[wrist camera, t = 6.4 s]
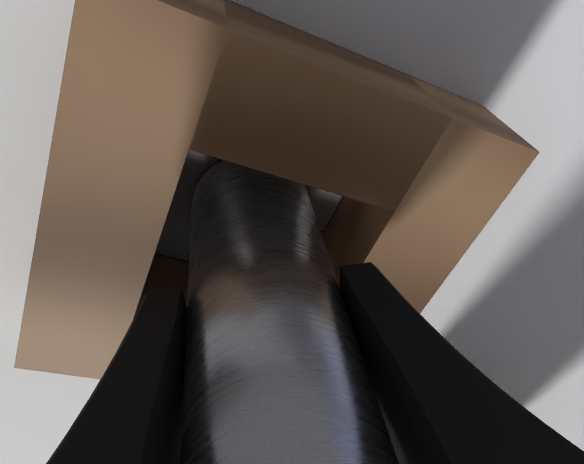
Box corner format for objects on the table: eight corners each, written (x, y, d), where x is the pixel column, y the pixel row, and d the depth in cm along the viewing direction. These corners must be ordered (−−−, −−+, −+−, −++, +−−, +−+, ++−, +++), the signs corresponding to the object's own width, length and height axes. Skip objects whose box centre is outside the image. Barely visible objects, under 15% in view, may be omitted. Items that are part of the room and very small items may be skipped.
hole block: (107, -50, 9) (80, -31, 7) (483, 106, 12) (539, 152, 10) (42, 295, 14) (14, 367, 12) (329, 347, 17) (347, 411, 15)
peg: (178, 164, 12) (118, 784, 4) (301, 144, 12) (510, 692, 4) (205, 261, 13) (205, 825, 5) (312, 242, 14) (471, 762, 5)
